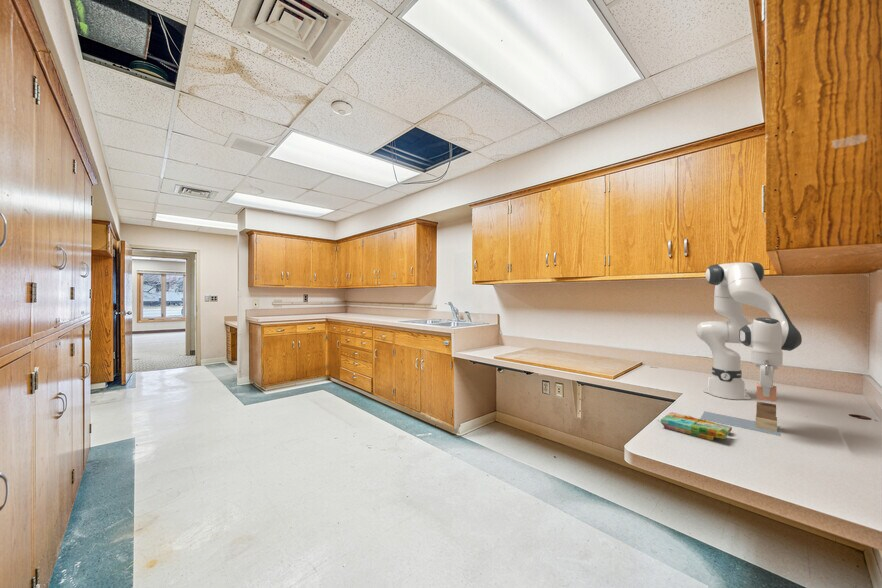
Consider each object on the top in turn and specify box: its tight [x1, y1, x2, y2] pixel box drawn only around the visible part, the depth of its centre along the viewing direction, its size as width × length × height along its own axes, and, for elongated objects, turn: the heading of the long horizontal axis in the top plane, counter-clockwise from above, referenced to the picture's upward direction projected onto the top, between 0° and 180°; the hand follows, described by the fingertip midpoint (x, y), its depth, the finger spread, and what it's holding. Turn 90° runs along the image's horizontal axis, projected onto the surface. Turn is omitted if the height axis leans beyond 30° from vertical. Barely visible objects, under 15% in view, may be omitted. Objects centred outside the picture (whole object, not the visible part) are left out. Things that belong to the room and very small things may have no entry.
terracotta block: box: [756, 383, 777, 403], centre depth 133 cm, size 6×6×5 cm
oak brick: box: [755, 416, 778, 432], centre depth 133 cm, size 6×6×4 cm
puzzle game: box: [660, 411, 733, 441], centre depth 132 cm, size 12×5×20 cm
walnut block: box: [755, 400, 777, 421], centre depth 133 cm, size 6×6×5 cm
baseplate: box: [699, 411, 782, 437], centre depth 138 cm, size 13×24×1 cm, turn 46°
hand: (766, 394), depth 133 cm, fingers closed on terracotta block, 5 cm apart
